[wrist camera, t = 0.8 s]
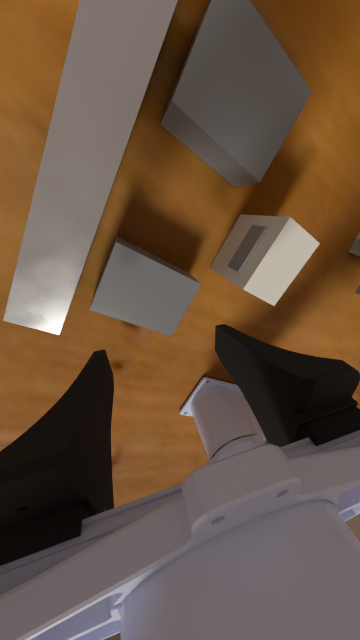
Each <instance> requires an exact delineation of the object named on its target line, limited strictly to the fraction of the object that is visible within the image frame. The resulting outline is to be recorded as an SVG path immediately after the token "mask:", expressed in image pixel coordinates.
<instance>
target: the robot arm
mask: <svg viewBox="0 0 360 640" xmlns="http://www.w3.org/2000/svg"><path fill="white" fill-rule="evenodd" d="M215 351H216V353H217V355H218V357H219V359H220V361H221V362H222V364H223V365H224V367H225V368H226V370H227V371H228V373H229V374H230V376H231V377H232V378H233V380H234V381H235V383H236V384H237V385H236V384H232V383H228V382H224V381H220V380H216V379H212V378H208V377H203V378H202V379H201V381H200V382H199V384H198V385H197V387H196V388H195V389H194V391H193V392H192V394H191V395H190V397H189V398H188V400H187V401H186V402H185V404H184V405H183V407H182V408H181V410H180V411H179V412H180V415H186V416H193V417H194V420H195V423H196V426H197V428H198V431H199V434H200V437H201V439H202V442H203V445H204V448H205V450H206V453H207V456H208V458H209V461H207V464H206V465H204V466H202V467H200V468H198V469H196V470H194V471H193V472H192V473H191V474H190V475H189V476H188V477H186V479H185V481H184V483H182V484H179V485H176V486H173V487H171V488H168V489H165V490H162V491H160V492H157V493H154V494H151V495H149V496H146V497H143V498H141V499H138V500H135V501H132V502H130V503H127V504H124V505H121V506H119V507H116V508H114V501H113V484H112V463H111V418H112V406H113V393H114V382H113V373H112V370H111V367H110V364H109V360H108V357H107V354H106V351H105V350H100V351H95V352H94V353H93V354H92V356H91V357H90V359H89V360H88V362H87V364H86V365H85V367H84V368H83V370H82V371H81V373H80V374H79V375H78V377H77V378H76V380H75V381H74V382H73V384H72V385H71V386H70V388H69V389H68V390H67V391H66V393H65V394H64V395H63V396H62V397H61V398H60V399H59V400H58V402H57V403H56V404H55V405H54V406H53V407H52V408H51V409H50V410H49V411H48V412H47V413H46V414H45V415H44V416H43V417H42V418H40V419H39V420H38V421H37V422H36V423H35V424H34V425H33V426H32V427H31V428H29V429H28V430H27V431H26V432H25V433H24V434H22V435H21V436H20V437H19V438H17V439H16V440H15V441H14V442H12V443H11V444H10V445H9V446H7V447H6V448H5V449H3V450H2V451H1V452H0V640H103V639H105V638H108V637H110V636H113V635H115V634H117V633H120V632H121V640H360V542H359V541H358V539H357V538H356V537H355V535H354V534H353V533H352V531H351V530H350V528H349V527H348V526H347V524H346V523H345V521H347V520H348V519H350V518H352V517H354V516H356V515H358V514H359V513H360V409H358V408H357V407H356V406H357V405H358V403H357V401H355V400H354V399H353V398H352V395H353V393H354V391H355V389H356V388H357V386H358V383H359V381H360V374H359V371H357V370H356V369H354V368H353V367H351V366H350V365H348V364H347V363H346V362H344V361H342V360H336V359H328V358H321V357H315V356H310V355H305V354H300V353H296V352H292V351H288V350H285V349H281V348H278V347H275V346H272V345H269V344H267V343H264V342H262V341H259V340H257V339H255V338H252V337H250V336H248V335H246V334H244V333H242V332H240V331H238V330H236V329H234V328H232V327H230V326H227V325H225V324H222V325H217V326H216V331H215Z"/></svg>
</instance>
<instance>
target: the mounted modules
mask: <svg viewBox="0 0 360 640" xmlns="http://www.w3.org/2000/svg"><path fill="white" fill-rule="evenodd" d="M311 93H312V91H311V89H310V88H309V86H308V85H307V83H306V82H305V80H304V79H303V77H302V76H301V74H300V73H299V71H298V70H297V69H296V67H295V66H294V64H293V63H292V61H291V60H290V58H289V57H288V55H287V54H286V52H285V51H284V49H283V48H282V46H281V45H280V43H279V42H278V40H277V39H276V37H275V36H274V34H273V33H272V31H271V30H270V28H269V27H268V25H267V24H266V22H265V21H264V20H263V18H262V17H261V15H260V14H259V12H258V11H257V9H256V8H255V6H254V5H253V3H252V2H251V0H209V3H208V5H207V7H206V9H205V12H204V14H203V16H202V19H201V21H200V23H199V25H198V28H197V31H196V33H195V36H194V38H193V41H192V43H191V46H190V49H189V51H188V54H187V56H186V59H185V61H184V64H183V66H182V69H181V72H180V74H179V77H178V79H177V82H176V84H175V87H174V90H173V92H172V95H171V97H170V100H169V102H168V105H167V107H166V110H165V113H164V115H163V118H162V120H161V123H160V125H161V126H162V127H164V128H165V129H166V130H167V131H168V132H169V133H171V134H172V135H173V136H174V137H175V138H177V139H178V140H179V141H180V142H181V143H183V144H184V145H185V146H186V147H187V148H188V149H190V150H191V151H192V152H193V153H194V154H196V155H197V156H198V157H199V158H200V159H202V160H203V161H204V162H205V163H206V164H207V165H209V166H210V167H211V168H212V169H213V170H215V171H216V172H217V173H218V174H219V175H220V176H222V177H223V178H224V179H225V180H226V181H228V182H229V183H230V184H231V185H232V186H234V187H239V186H245V185H250V184H255V183H260V182H261V180H262V178H263V176H264V175H265V173H266V171H267V170H268V168H269V166H270V164H271V163H272V161H273V159H274V157H275V156H276V154H277V152H278V150H279V149H280V147H281V145H282V143H283V142H284V140H285V138H286V136H287V135H288V133H289V131H290V129H291V128H292V126H293V124H294V123H295V121H296V119H297V117H298V116H299V114H300V112H301V110H302V109H303V107H304V105H305V103H306V102H307V100H308V98H309V96H310V95H311ZM200 286H201V283H199V282H198V281H197V280H196V279H195V278H194V277H193V276H192V275H191V274H189V273H188V272H186V271H184V270H182V269H180V268H178V267H176V266H175V265H173V264H171V263H169V262H167V261H165V260H163V259H161V258H159V257H157V256H155V255H153V254H151V253H149V252H147V251H145V250H143V249H141V248H139V247H137V246H135V245H133V244H131V243H130V242H128V241H126V240H124V239H122V238H120V237H118V236H116V238H115V241H114V243H113V246H112V248H111V251H110V254H109V256H108V259H107V261H106V264H105V266H104V269H103V272H102V274H101V277H100V279H99V282H98V284H97V287H96V289H95V292H94V295H93V299H92V302H91V306H90V310H92V311H95V312H98V313H101V314H104V315H107V316H110V317H113V318H116V319H119V320H123V321H126V322H129V323H132V324H135V325H138V326H141V327H144V328H147V329H150V330H153V331H156V332H159V333H162V334H166V335H169V336H172V335H173V333H174V331H175V330H176V328H177V326H178V324H179V323H180V321H181V319H182V317H183V316H184V314H185V312H186V311H187V309H188V307H189V305H190V304H191V302H192V300H193V298H194V297H195V295H196V293H197V291H198V290H199V288H200Z"/></svg>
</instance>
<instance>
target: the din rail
mask: <svg viewBox="0 0 360 640" xmlns="http://www.w3.org/2000/svg"><path fill="white" fill-rule="evenodd" d="M177 3H178V0H80V2H79V6H78V10H77V14H76V19H75V23H74V27H73V31H72V35H71V40H70V44H69V48H68V52H67V56H66V60H65V65H64V69H63V73H62V77H61V81H60V86H59V90H58V94H57V98H56V102H55V107H54V111H53V115H52V119H51V123H50V127H49V132H48V136H47V140H46V144H45V148H44V153H43V157H42V161H41V165H40V169H39V173H38V178H37V182H36V186H35V190H34V194H33V199H32V203H31V207H30V211H29V215H28V220H27V224H26V228H25V232H24V236H23V240H22V245H21V249H20V253H19V257H18V261H17V266H16V270H15V274H14V278H13V282H12V287H11V291H10V295H9V299H8V303H7V307H6V312H5V316H4V320H3V321H7V322H10V323H14V324H18V325H22V326H26V327H30V328H34V329H38V330H42V331H46V332H50V333H53V334H57V335H59V334H60V332H61V330H62V327H63V324H64V321H65V318H66V315H67V313H68V310H69V307H70V304H71V301H72V299H73V296H74V293H75V290H76V287H77V284H78V282H79V279H80V276H81V273H82V270H83V268H84V265H85V262H86V259H87V256H88V253H89V251H90V248H91V245H92V242H93V239H94V237H95V234H96V231H97V228H98V225H99V222H100V220H101V217H102V214H103V211H104V208H105V206H106V203H107V200H108V197H109V194H110V191H111V189H112V186H113V183H114V180H115V177H116V175H117V172H118V169H119V166H120V163H121V160H122V158H123V155H124V152H125V149H126V146H127V144H128V141H129V138H130V135H131V132H132V129H133V127H134V124H135V121H136V118H137V115H138V113H139V110H140V107H141V104H142V101H143V98H144V96H145V93H146V90H147V87H148V84H149V82H150V79H151V76H152V73H153V70H154V67H155V65H156V62H157V59H158V56H159V53H160V51H161V48H162V45H163V42H164V39H165V36H166V34H167V31H168V28H169V25H170V22H171V20H172V17H173V14H174V11H175V8H176V5H177Z"/></svg>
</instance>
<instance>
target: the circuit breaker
mask: <svg viewBox="0 0 360 640" xmlns="http://www.w3.org/2000/svg"><path fill="white" fill-rule="evenodd" d="M348 252H350V253H352V254H355V255H357V256H359V257H360V232H359V234H358V236H357V237H356V239H355V241H354V242H353V244H352V245H351V247H350V249H349V250H348ZM356 293H357V294H359V295H360V286H359V287H358V289H357V290H356Z"/></svg>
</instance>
